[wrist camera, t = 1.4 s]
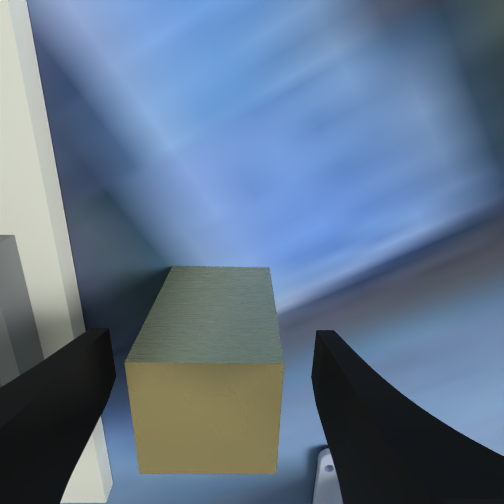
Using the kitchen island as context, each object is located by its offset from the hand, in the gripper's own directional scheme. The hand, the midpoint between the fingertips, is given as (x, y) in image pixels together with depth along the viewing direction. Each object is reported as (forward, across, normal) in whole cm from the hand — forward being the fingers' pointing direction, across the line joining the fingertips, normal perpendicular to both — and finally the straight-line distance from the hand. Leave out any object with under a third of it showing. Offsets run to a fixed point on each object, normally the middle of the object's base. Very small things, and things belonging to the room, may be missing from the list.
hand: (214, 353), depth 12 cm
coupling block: (+3, 0, 0) cm, 3 cm away
